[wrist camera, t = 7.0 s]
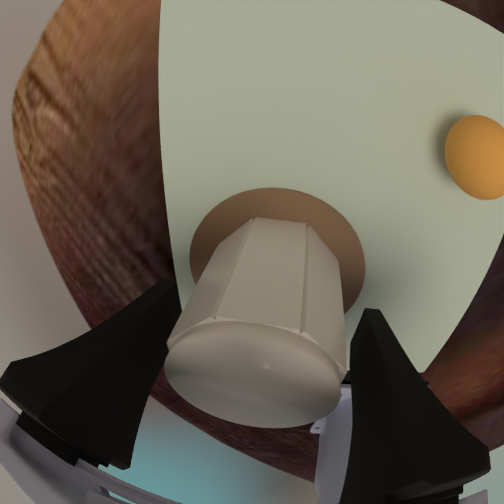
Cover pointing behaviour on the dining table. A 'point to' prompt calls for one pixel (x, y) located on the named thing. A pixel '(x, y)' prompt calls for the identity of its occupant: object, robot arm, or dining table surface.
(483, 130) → the ball
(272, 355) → the cup
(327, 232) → the coaster
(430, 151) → the placemat
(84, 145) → the dining table surface
